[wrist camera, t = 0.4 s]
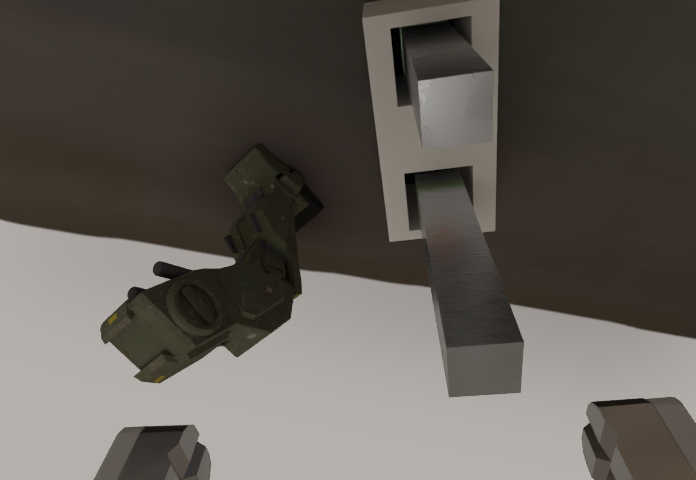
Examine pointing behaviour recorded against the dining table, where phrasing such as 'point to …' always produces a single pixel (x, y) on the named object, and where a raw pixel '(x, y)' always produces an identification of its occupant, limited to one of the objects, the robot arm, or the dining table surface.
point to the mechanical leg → (223, 280)
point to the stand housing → (398, 117)
